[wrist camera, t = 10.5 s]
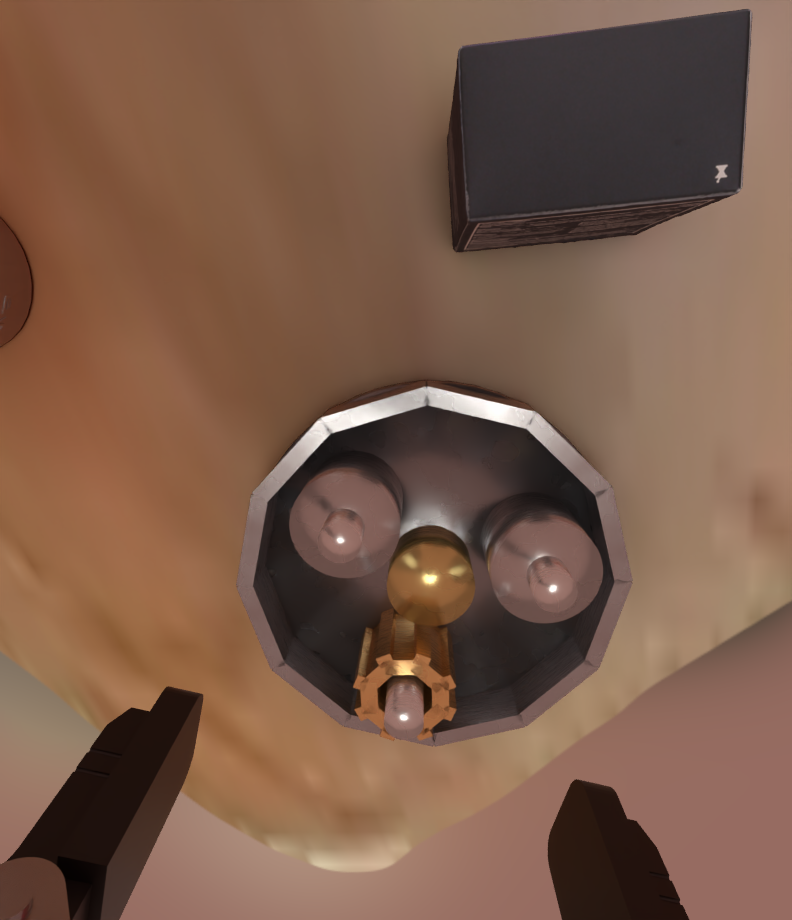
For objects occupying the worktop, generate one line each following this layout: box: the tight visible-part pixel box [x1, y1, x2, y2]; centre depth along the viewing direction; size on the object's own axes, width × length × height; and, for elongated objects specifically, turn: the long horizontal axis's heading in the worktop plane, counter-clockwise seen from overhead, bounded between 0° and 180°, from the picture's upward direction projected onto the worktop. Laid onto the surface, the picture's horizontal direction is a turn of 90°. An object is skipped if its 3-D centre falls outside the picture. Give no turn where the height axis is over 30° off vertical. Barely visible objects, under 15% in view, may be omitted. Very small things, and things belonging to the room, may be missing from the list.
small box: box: [447, 9, 752, 252], centre depth 25 cm, size 11×6×10 cm, turn 95°
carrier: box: [236, 380, 633, 746], centre depth 32 cm, size 23×23×8 cm
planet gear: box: [353, 608, 457, 741], centre depth 34 cm, size 6×6×5 cm
